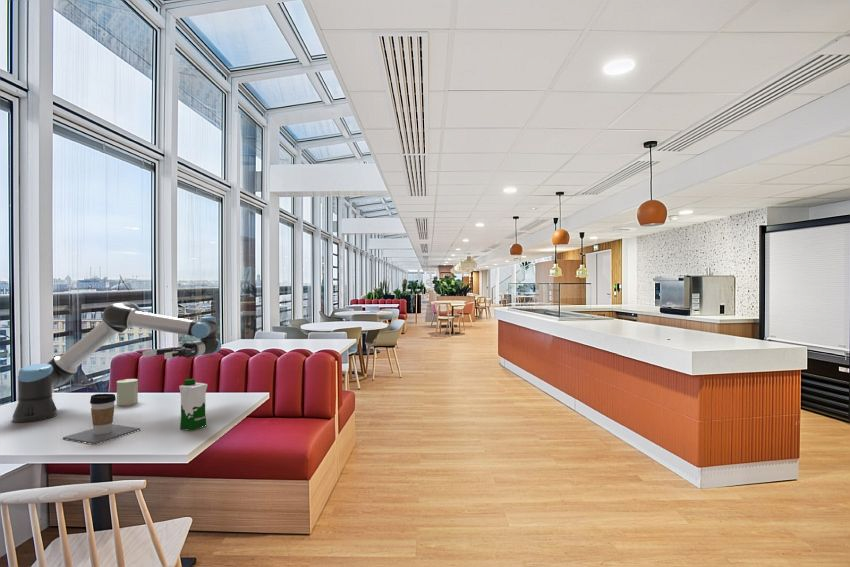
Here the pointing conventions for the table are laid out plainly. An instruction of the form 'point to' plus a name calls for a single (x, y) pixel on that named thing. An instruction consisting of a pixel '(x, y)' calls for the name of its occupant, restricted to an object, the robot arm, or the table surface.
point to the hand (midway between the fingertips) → (153, 355)
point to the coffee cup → (102, 412)
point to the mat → (94, 439)
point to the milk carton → (192, 404)
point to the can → (127, 391)
